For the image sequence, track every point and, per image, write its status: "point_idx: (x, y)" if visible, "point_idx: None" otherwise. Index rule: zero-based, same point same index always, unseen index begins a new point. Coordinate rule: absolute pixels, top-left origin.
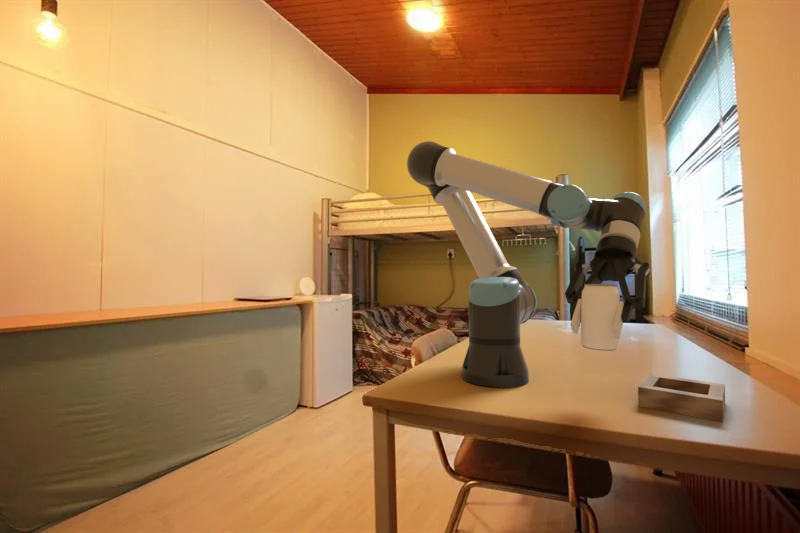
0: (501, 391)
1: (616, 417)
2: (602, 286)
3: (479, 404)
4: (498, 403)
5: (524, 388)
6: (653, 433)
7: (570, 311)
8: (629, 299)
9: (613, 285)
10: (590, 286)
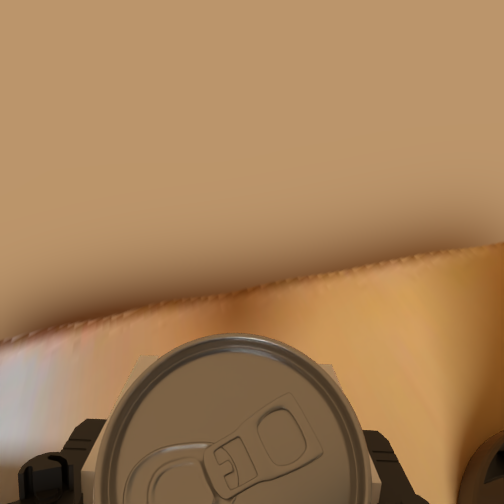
0: (458, 417)
1: None
2: (199, 343)
3: (427, 297)
4: (405, 325)
5: (435, 492)
6: (98, 338)
7: (380, 436)
8: (36, 462)
9: (123, 395)
10: (285, 351)
